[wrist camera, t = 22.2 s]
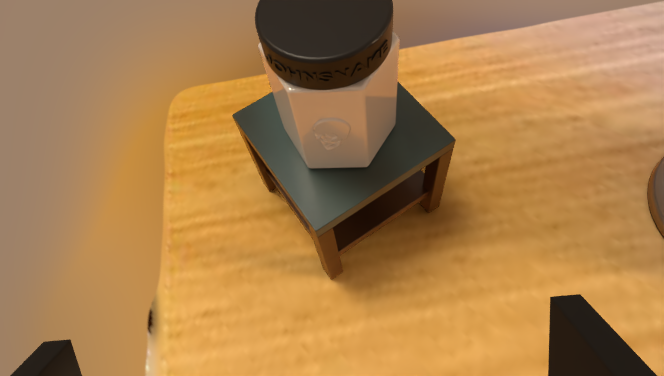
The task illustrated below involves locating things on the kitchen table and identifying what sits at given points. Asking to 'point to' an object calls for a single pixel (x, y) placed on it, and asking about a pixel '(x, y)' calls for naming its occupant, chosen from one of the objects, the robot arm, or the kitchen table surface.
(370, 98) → the jar
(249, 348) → the kitchen table surface
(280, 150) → the stand
